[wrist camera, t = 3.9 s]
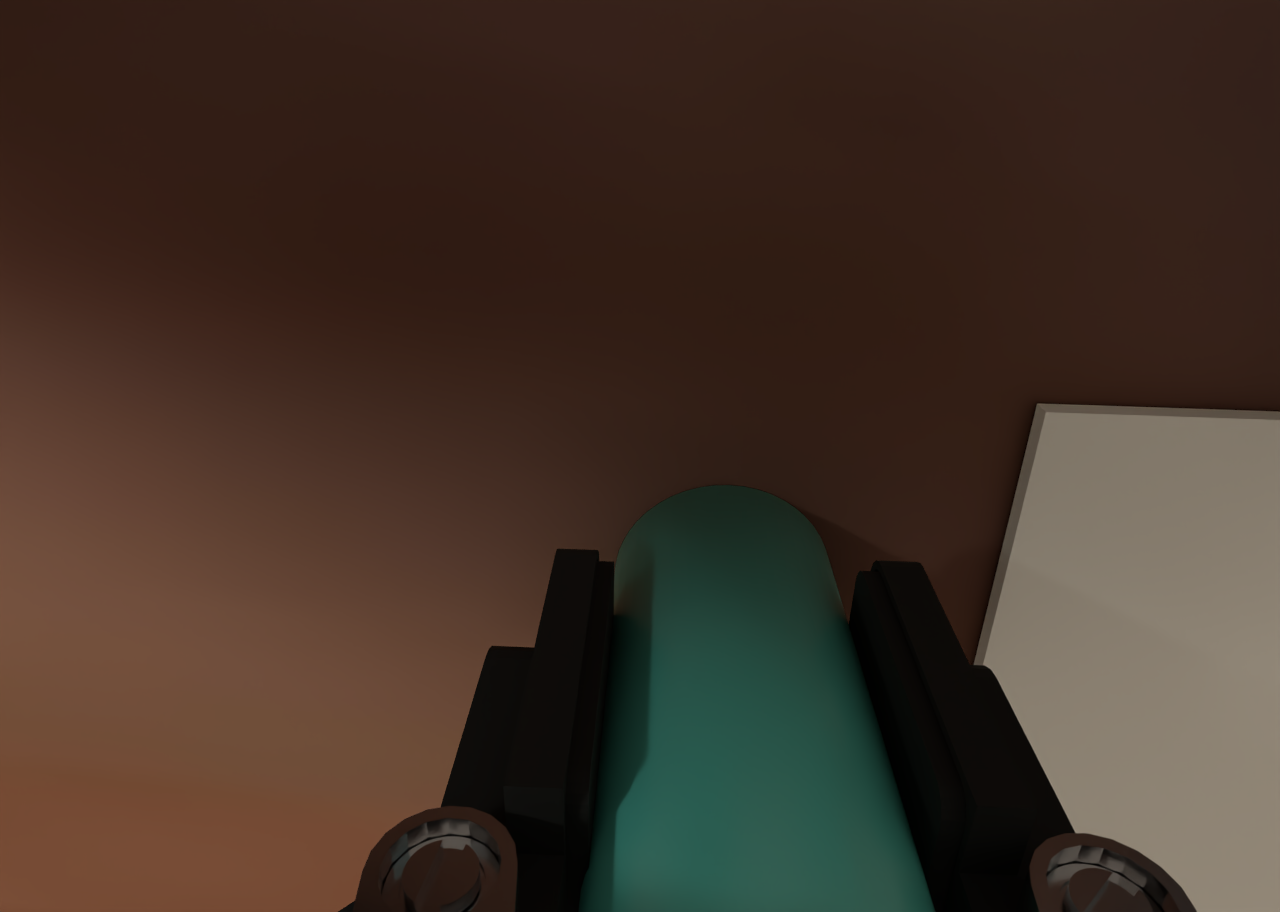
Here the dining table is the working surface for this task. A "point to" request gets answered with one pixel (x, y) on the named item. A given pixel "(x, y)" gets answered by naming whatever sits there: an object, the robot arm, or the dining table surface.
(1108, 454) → the paper
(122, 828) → the dining table surface
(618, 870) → the marker
